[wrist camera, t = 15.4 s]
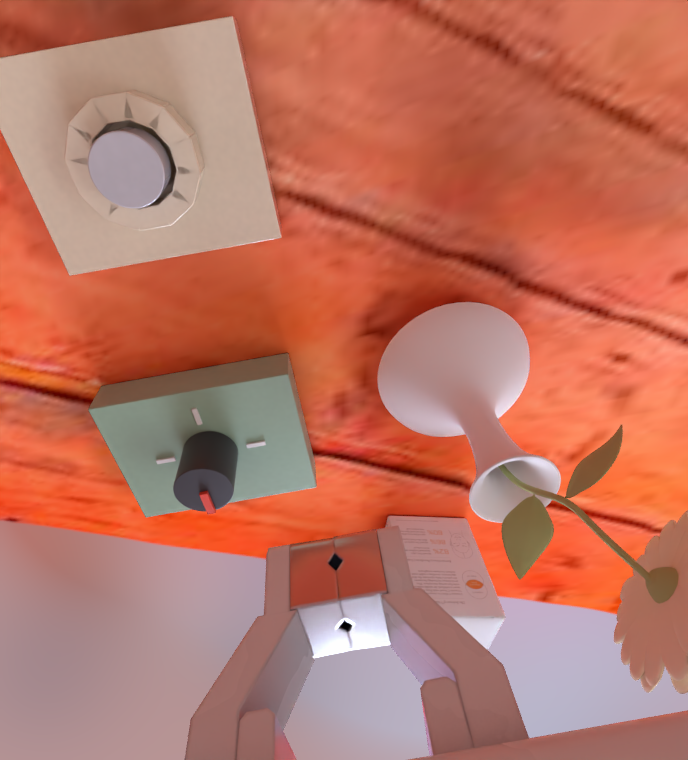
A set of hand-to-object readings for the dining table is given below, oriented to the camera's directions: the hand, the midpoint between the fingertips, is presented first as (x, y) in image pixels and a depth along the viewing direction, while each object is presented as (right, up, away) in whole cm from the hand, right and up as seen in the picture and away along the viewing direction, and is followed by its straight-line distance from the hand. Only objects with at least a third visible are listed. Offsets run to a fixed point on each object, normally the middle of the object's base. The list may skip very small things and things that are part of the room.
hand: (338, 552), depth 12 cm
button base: (-11, +17, +18) cm, 27 cm away
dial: (-10, -1, +26) cm, 28 cm away
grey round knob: (-11, +15, +15) cm, 24 cm away
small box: (+8, -11, +38) cm, 41 cm away
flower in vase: (+9, +6, +27) cm, 29 cm away
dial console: (-10, 0, +29) cm, 30 cm away
